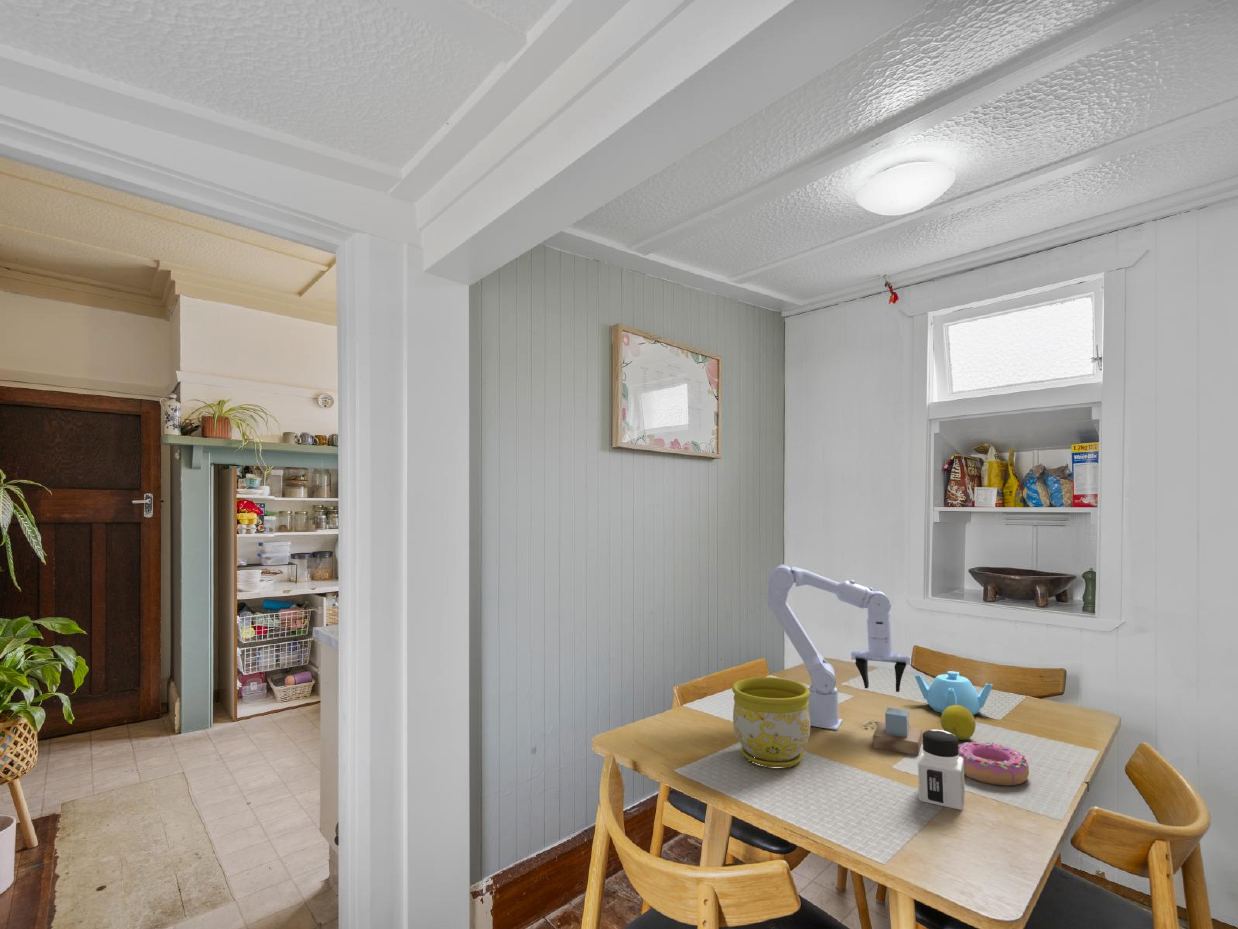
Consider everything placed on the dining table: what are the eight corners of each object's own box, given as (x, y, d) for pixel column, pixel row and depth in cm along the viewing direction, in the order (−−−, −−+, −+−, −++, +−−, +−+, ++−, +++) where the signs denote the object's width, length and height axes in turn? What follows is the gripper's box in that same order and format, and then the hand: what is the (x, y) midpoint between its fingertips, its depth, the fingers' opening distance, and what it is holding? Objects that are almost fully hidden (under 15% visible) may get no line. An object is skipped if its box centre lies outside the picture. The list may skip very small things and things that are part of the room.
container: (962, 811, 123) (959, 743, 123) (918, 801, 127) (916, 735, 128) (965, 795, 129) (962, 730, 130) (923, 786, 133) (921, 723, 134)
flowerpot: (826, 771, 141) (824, 696, 142) (749, 777, 138) (748, 701, 139) (791, 740, 159) (789, 674, 160) (723, 746, 156) (721, 678, 157)
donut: (942, 761, 147) (942, 739, 147) (1005, 761, 146) (1004, 739, 146) (975, 789, 132) (974, 764, 133) (1045, 789, 132) (1043, 765, 132)
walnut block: (873, 747, 154) (873, 735, 154) (879, 734, 163) (878, 722, 163) (918, 755, 149) (918, 742, 149) (922, 741, 158) (921, 729, 158)
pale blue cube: (885, 734, 155) (885, 713, 155) (888, 727, 159) (887, 707, 159) (907, 737, 153) (906, 716, 153) (909, 731, 157) (908, 710, 157)
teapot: (998, 717, 175) (996, 677, 176) (951, 721, 172) (950, 681, 172) (957, 700, 190) (955, 663, 191) (913, 704, 187) (912, 667, 187)
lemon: (970, 748, 153) (969, 714, 154) (936, 740, 159) (934, 707, 159) (981, 735, 161) (980, 704, 162) (948, 728, 167) (947, 697, 167)
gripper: (848, 638, 168) (850, 689, 167) (907, 642, 160) (910, 697, 160) (852, 632, 174) (855, 683, 173) (910, 637, 167) (913, 689, 166)
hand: (882, 689), depth 167 cm, fingers open, 7 cm apart
